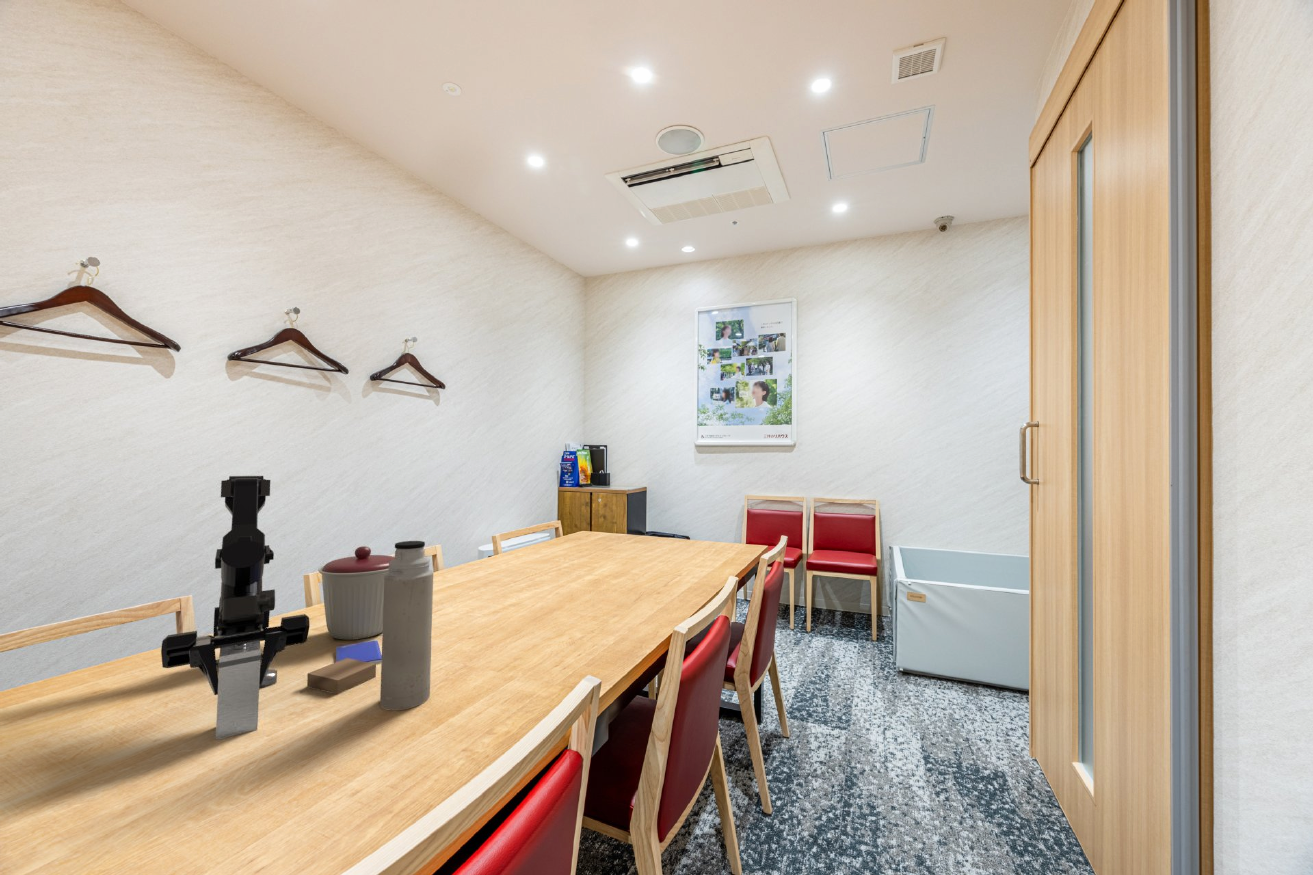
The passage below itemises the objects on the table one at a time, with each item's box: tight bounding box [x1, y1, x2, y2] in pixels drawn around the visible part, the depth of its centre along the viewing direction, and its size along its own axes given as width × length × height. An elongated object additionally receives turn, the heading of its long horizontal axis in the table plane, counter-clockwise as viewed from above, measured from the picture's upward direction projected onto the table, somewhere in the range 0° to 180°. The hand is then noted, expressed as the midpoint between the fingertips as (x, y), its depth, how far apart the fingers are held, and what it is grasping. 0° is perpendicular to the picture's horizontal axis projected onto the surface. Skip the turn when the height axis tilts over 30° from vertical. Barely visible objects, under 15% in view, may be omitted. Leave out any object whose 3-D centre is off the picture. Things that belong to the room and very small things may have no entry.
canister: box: [318, 545, 395, 641], centre depth 125 cm, size 18×18×21 cm
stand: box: [306, 658, 377, 695], centre depth 97 cm, size 8×8×2 cm
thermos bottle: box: [379, 540, 434, 711], centre depth 91 cm, size 8×8×28 cm
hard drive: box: [335, 640, 382, 665], centre depth 110 cm, size 2×8×12 cm
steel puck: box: [259, 669, 278, 689], centre depth 96 cm, size 4×4×2 cm
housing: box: [215, 640, 262, 741], centre depth 81 cm, size 5×5×13 cm
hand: (238, 688), depth 80 cm, fingers closed on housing, 5 cm apart
